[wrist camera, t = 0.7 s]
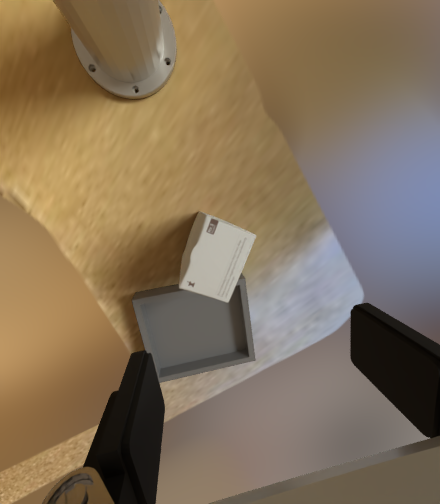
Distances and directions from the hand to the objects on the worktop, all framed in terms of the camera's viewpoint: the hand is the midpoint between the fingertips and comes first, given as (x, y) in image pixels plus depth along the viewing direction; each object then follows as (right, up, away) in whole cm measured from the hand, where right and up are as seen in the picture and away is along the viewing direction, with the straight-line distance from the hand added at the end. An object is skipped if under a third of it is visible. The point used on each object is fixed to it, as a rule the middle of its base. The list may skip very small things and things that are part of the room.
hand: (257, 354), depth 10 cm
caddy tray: (-6, -8, +31) cm, 32 cm away
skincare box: (-4, +7, +27) cm, 29 cm away
